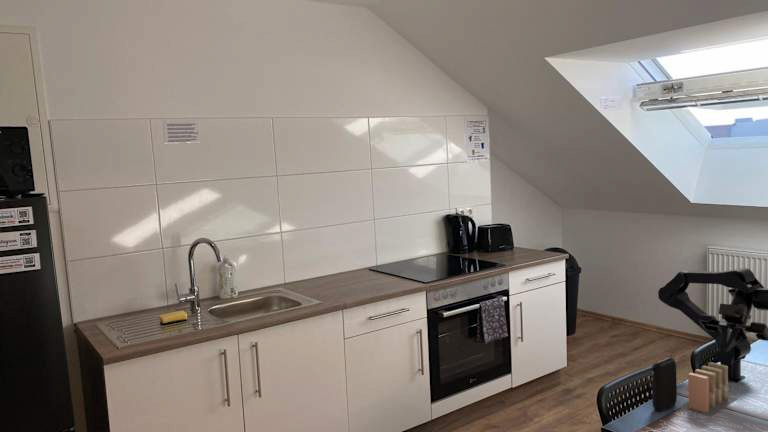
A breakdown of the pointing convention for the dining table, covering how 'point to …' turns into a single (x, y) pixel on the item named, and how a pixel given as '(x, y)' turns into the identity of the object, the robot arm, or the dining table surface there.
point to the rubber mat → (711, 410)
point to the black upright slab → (664, 384)
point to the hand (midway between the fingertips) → (725, 350)
